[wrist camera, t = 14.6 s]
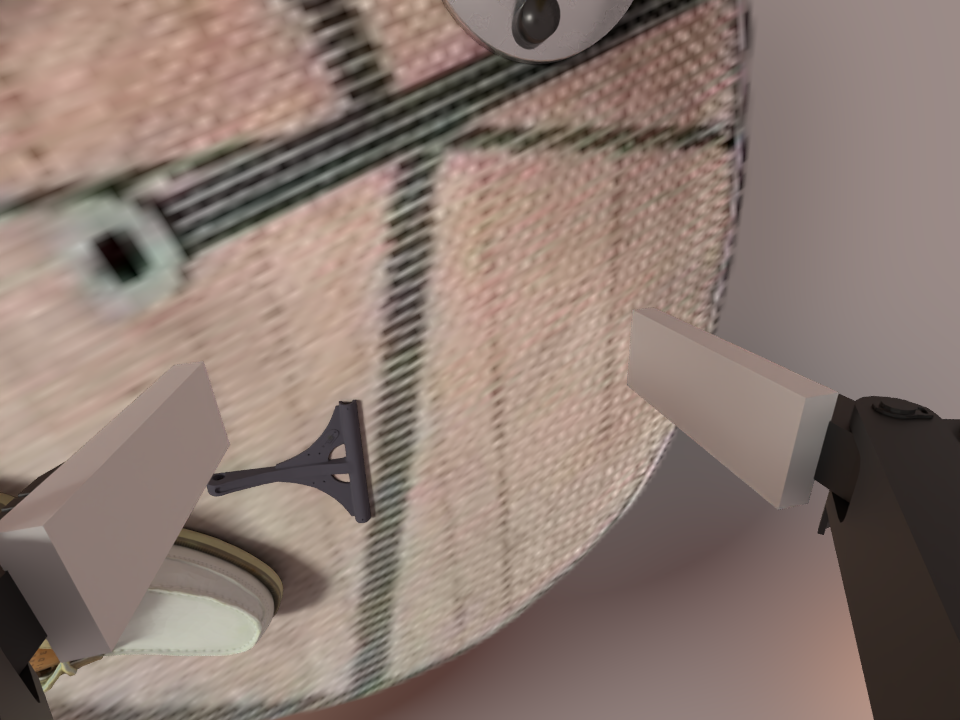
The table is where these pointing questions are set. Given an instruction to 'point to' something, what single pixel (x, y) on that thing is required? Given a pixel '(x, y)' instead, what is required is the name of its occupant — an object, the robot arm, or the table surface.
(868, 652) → the robot arm
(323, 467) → the bracket
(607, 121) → the table surface
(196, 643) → the boat shoe
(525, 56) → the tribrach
